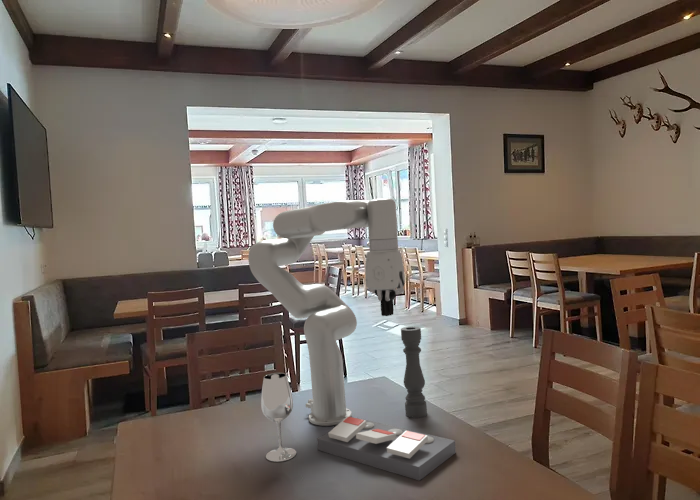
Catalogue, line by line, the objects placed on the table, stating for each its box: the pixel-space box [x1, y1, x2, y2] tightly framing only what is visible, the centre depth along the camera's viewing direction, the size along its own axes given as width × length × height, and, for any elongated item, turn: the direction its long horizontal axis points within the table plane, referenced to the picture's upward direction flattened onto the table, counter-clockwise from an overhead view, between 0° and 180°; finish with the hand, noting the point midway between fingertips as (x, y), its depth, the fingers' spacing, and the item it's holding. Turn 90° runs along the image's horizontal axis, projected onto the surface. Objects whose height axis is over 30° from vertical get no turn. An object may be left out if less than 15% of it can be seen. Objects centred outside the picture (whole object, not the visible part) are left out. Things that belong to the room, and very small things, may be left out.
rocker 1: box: [327, 416, 367, 442], centre depth 132 cm, size 6×8×1 cm
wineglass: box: [260, 372, 297, 463], centre depth 131 cm, size 8×8×20 cm
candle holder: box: [400, 326, 428, 419], centre depth 152 cm, size 6×6×25 cm
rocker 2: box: [356, 429, 396, 444], centre depth 127 cm, size 6×8×1 cm
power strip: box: [316, 417, 457, 481], centre depth 131 cm, size 35×16×3 cm, turn 50°
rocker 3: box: [387, 431, 428, 459], centre depth 121 cm, size 6×8×1 cm
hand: (387, 314), depth 140 cm, fingers closed
